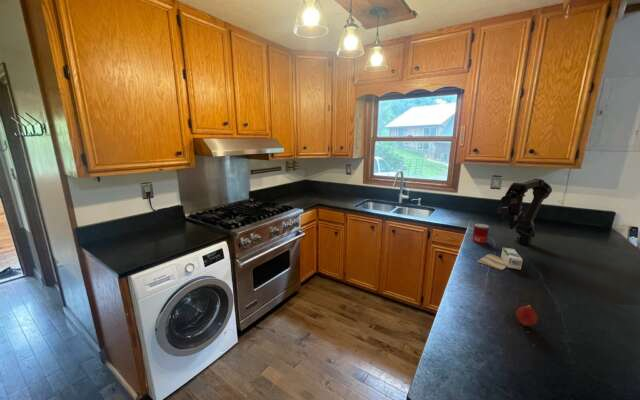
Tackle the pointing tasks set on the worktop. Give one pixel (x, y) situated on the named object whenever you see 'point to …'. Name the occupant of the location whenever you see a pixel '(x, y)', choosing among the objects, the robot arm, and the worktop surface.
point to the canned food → (480, 233)
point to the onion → (526, 315)
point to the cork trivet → (493, 261)
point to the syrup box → (511, 258)
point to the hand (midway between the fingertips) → (511, 228)
